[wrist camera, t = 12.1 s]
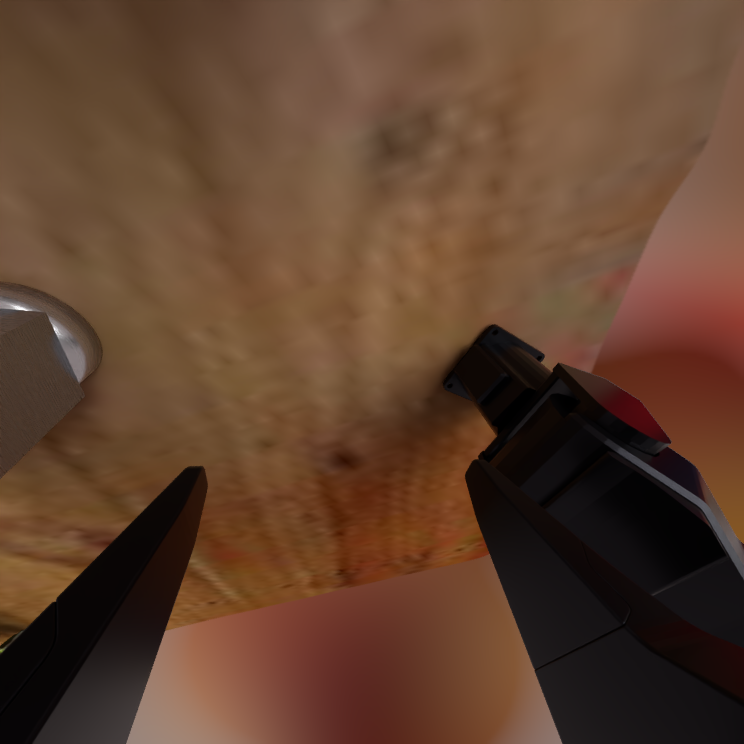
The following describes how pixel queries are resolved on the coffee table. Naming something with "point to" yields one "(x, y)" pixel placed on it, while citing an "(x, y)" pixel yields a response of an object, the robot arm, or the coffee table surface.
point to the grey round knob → (31, 383)
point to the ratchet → (58, 325)
